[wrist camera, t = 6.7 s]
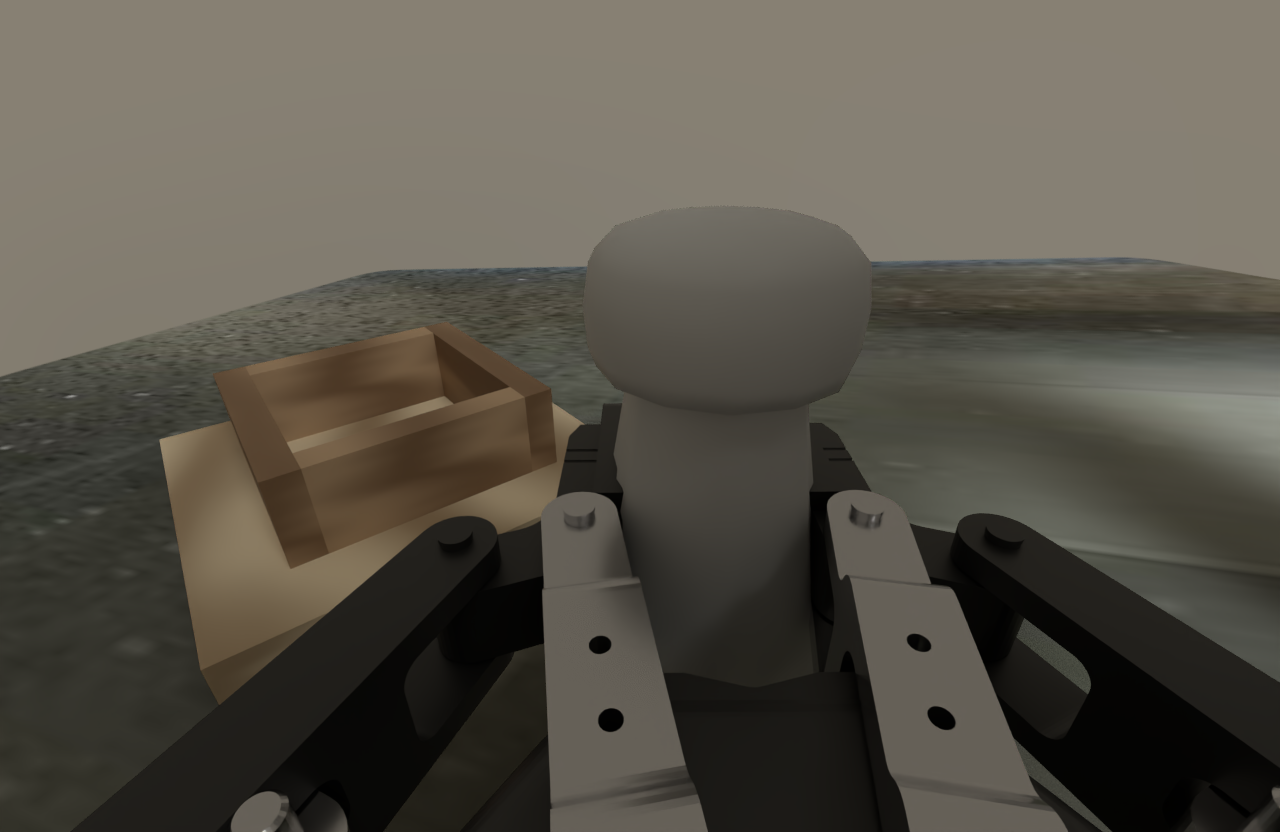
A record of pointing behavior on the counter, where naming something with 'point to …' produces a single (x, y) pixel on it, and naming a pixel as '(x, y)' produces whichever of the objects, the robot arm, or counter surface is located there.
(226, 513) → the socket holder
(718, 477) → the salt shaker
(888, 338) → the counter surface
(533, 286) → the counter surface
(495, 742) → the counter surface
